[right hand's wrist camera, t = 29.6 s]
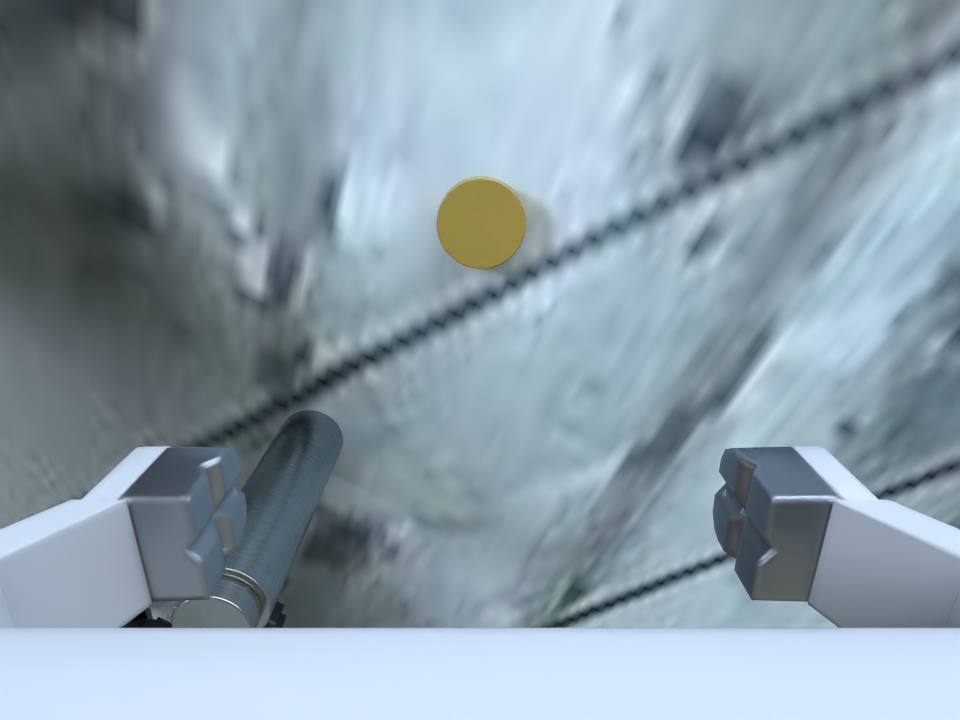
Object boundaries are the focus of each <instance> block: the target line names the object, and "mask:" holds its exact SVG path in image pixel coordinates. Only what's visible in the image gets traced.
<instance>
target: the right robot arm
mask: <svg viewBox="0 0 960 720" xmlns="http://www.w3.org/2000/svg"><path fill="white" fill-rule="evenodd" d="M240 472H241V469H240V464H239V459H238V454H237V453H236V452H235V451H234V450H233V448H215V447H170V446H154V447H139V448H136V449H135V450H133V451H132V452H131V453H130V454H129V455H128V456H127V457H126V458H125V459H124V460H123V461H122V462H121V463H120V464H119V465H118V466H117V467H115V468H114V469H113V470H112V471H111V472H110V473H109V474H108V475H107V476H106V477H105V478H104V479H103V480H102V481H101V482H100V483H99V484H97V485H96V486H95V487H94V488H93V489H92V490H91V491H90V492H89V493H88V494H87V495H86V496H85V497H84V498H83V499H82V500H70V501H67V502H65V503H62V504H60V505H58V506H55V507H53V508H50V509H48V510H46V511H43V512H41V513H38V514H36V515H34V516H31V517H29V518H26V519H24V520H22V521H19V522H17V523H14V524H12V525H10V526H7V527H5V528H2V529H0V720H960V529H957V528H955V527H953V526H950V525H948V524H945V523H943V522H941V521H938V520H936V519H933V518H931V517H929V516H926V515H924V514H922V513H919V512H917V511H914V510H912V509H910V508H907V507H905V506H902V505H900V504H898V503H895V502H893V501H890V500H878V499H877V498H876V497H875V496H874V495H873V494H872V493H871V492H870V491H869V490H868V489H867V488H866V487H865V486H864V485H863V484H862V483H861V482H859V481H858V480H857V479H856V478H855V477H854V476H853V475H852V474H851V473H850V472H849V471H848V470H847V469H846V468H845V467H844V466H843V465H842V464H840V463H839V462H838V461H837V460H836V459H835V458H834V457H833V456H832V455H831V454H830V453H829V452H828V451H827V450H826V449H825V448H821V447H818V446H804V447H760V448H730V449H725V451H724V453H723V456H722V458H721V463H720V468H719V472H720V474H721V475H722V477H723V478H724V480H725V482H726V484H725V485H724V486H723V487H722V488H721V489H720V490H719V491H718V492H717V493H716V494H715V499H714V507H713V519H714V529H715V532H716V535H717V539H718V541H719V543H720V545H721V547H722V548H723V550H724V551H725V552H727V553H728V554H730V555H731V556H733V557H735V558H736V563H735V569H734V570H735V572H736V573H737V575H738V577H739V579H740V580H741V582H742V584H743V586H744V587H745V589H746V591H747V593H748V594H749V596H750V598H751V599H752V600H772V601H808V605H810V606H811V607H812V608H814V609H815V610H816V611H818V612H819V613H820V614H822V615H823V616H824V617H826V618H827V619H828V620H830V621H831V622H832V623H834V624H835V625H836V626H837V627H839V628H121V627H123V626H124V625H125V624H127V623H128V622H129V621H131V620H132V619H133V618H135V617H136V616H137V615H139V614H140V613H141V612H143V611H144V610H145V609H146V608H148V607H149V606H150V605H152V601H187V600H209V598H210V596H211V594H212V593H213V591H214V589H215V587H216V586H217V584H218V582H219V580H220V579H221V577H222V575H223V573H224V572H225V570H226V569H225V563H224V558H225V557H227V556H229V555H230V554H232V553H233V552H235V551H236V550H237V548H238V547H239V545H240V543H241V541H242V539H243V536H244V531H245V527H246V523H247V505H246V498H245V494H244V493H243V492H242V491H241V490H240V489H239V488H238V487H237V486H236V485H235V484H234V482H235V480H236V478H237V477H238V475H239V474H240Z"/></svg>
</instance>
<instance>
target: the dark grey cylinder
mask: <svg viewBox="0 0 960 720" xmlns="http://www.w3.org/2000/svg"><path fill="white" fill-rule="evenodd" d="M341 447H342V434H341V431H340V429H339V427H338V425H337V424H336V423H335V422H334V421H333V420H332V419H331V418H330V417H328V416H327V415H325V414H323V413H320V412H316V411H302V412H298V413H296V414H294V415H292V416H291V417H289V418H288V419H287V420H286V421H285V423H284V424H283V426H282V427H281V429H280V431H279V432H278V434H277V435H276V437H275V438H274V440H273V441H272V443H271V445H270V446H269V448H268V449H267V451H266V452H265V454H264V455H263V457H262V459H261V460H260V462H259V463H258V465H257V466H256V468H255V469H254V471H253V473H252V474H251V476H250V477H249V479H248V480H247V482H246V483H245V485H244V487H243V488H242V490H241V491H242V492H243V493H244V494H245V498H246V505H247V523H246V527H245V531H244V536H243V539H242V541H241V543H240V545H239V547H238V548H237V550H236V551H235V552H233V553H232V554H230V555H229V556H227V557H225V558H224V563H225V569H226V570H225V572H224V573H223V575H222V577H221V579H220V580H219V582H218V584H217V586H216V587H215V589H214V591H213V593H212V594H211V596H210V598H209V600H187V601H177V602H176V604H175V606H174V608H173V615H172V620H171V625H172V628H264V627H265V625H266V624H267V622H268V621H269V618H270V616H271V614H272V611H273V609H274V607H275V604H276V602H277V599H278V597H279V595H280V592H281V590H282V588H283V585H284V583H285V580H286V578H287V576H288V573H289V571H290V569H291V566H292V564H293V561H294V559H295V557H296V554H297V552H298V550H299V547H300V545H301V542H302V540H303V538H304V535H305V533H306V531H307V528H308V526H309V524H310V521H311V519H312V516H313V514H314V512H315V509H316V507H317V505H318V502H319V500H320V497H321V495H322V493H323V490H324V488H325V486H326V483H327V481H328V478H329V476H330V474H331V471H332V469H333V467H334V464H335V462H336V459H337V457H338V455H339V452H340V450H341Z"/></svg>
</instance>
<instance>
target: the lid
mask: <svg viewBox="0 0 960 720" xmlns="http://www.w3.org/2000/svg"><path fill="white" fill-rule="evenodd" d="M525 226H526V222H525V214H524V210H523V207H522V205H521V203H520V200H519V199H518V197H517V195H516V194H515V193H514V191H513V190H512V189H511V188H510V187H509V186H507V185H506V184H505V183H503V182H501V181H499V180H497V179H494V178H491V177H484V176H478V177H471V178H468V179H465V180H463V181H461V182H459V183H458V184H456V185H455V186H454V187H453V188H452V189H451V190H450V191H449V192H448V193H447V194H446V196H445V197H444V199H443V201H442V204H441V206H440V208H439V211H438V216H437V231H438V236H439V239H440V241H441V244H442V246H443V247H444V249H445V250H446V252H447V253H448V254H449V255H450V256H451V257H452V258H453V259H455V260H456V261H457V262H459V263H461V264H463V265H465V266H468V267H472V268H490V267H494V266H497V265H499V264H502V263H503V262H505V261H506V260H508V259H509V258H510V257H511V256H512V255H513V254H514V253H515V252H516V251H517V249H518V248H519V246H520V244H521V242H522V240H523V237H524V233H525Z"/></svg>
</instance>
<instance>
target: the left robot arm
mask: <svg viewBox="0 0 960 720" xmlns="http://www.w3.org/2000/svg"><path fill="white" fill-rule="evenodd" d="M283 607H284V605H283V604H281V603H279V602H276V604H275V607H274V609H273V611H272V614H271V616H270V618H269V621H268V622H267V624H266V625H265V627H264V628H282V627H283V625H284V622H285V617H286V615H284V614H282V613H281V612H282V610H283ZM121 628H172V625H171V623H169V622H168V621H166V620H164V619H162V618H160V617H158V618H157V620H155V619H153V618H152V614H151V610H150V606H149V607H148V608H146V609H145V610H144V611H143V612H141V613H140V614H139V615H137V616H136V617H135V618H133V619H132V620H131V621H129V622H128V623H127V624H125V625H124V626H123V627H121Z"/></svg>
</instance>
